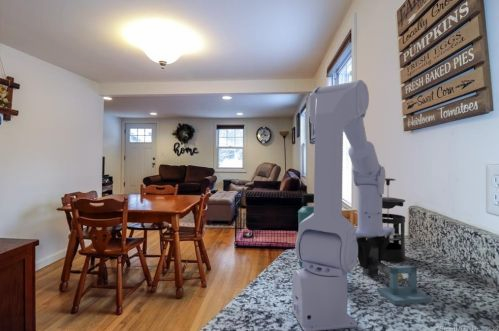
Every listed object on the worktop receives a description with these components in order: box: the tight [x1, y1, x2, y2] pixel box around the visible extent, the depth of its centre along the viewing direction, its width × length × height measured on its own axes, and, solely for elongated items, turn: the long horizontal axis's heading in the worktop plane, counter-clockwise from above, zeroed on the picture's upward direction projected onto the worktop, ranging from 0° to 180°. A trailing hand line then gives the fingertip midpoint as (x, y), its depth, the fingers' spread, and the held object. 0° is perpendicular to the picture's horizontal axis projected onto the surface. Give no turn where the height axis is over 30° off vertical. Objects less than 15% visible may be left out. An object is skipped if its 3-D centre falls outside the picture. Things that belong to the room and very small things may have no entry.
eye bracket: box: [376, 264, 432, 306], centre depth 62 cm, size 6×8×6 cm
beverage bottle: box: [297, 193, 319, 269], centre depth 76 cm, size 6×7×20 cm
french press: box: [366, 177, 407, 263], centre depth 88 cm, size 12×9×23 cm
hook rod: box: [362, 245, 404, 283], centre depth 69 cm, size 13×3×7 cm, turn 8°
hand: (369, 266), depth 75 cm, fingers open, 3 cm apart
